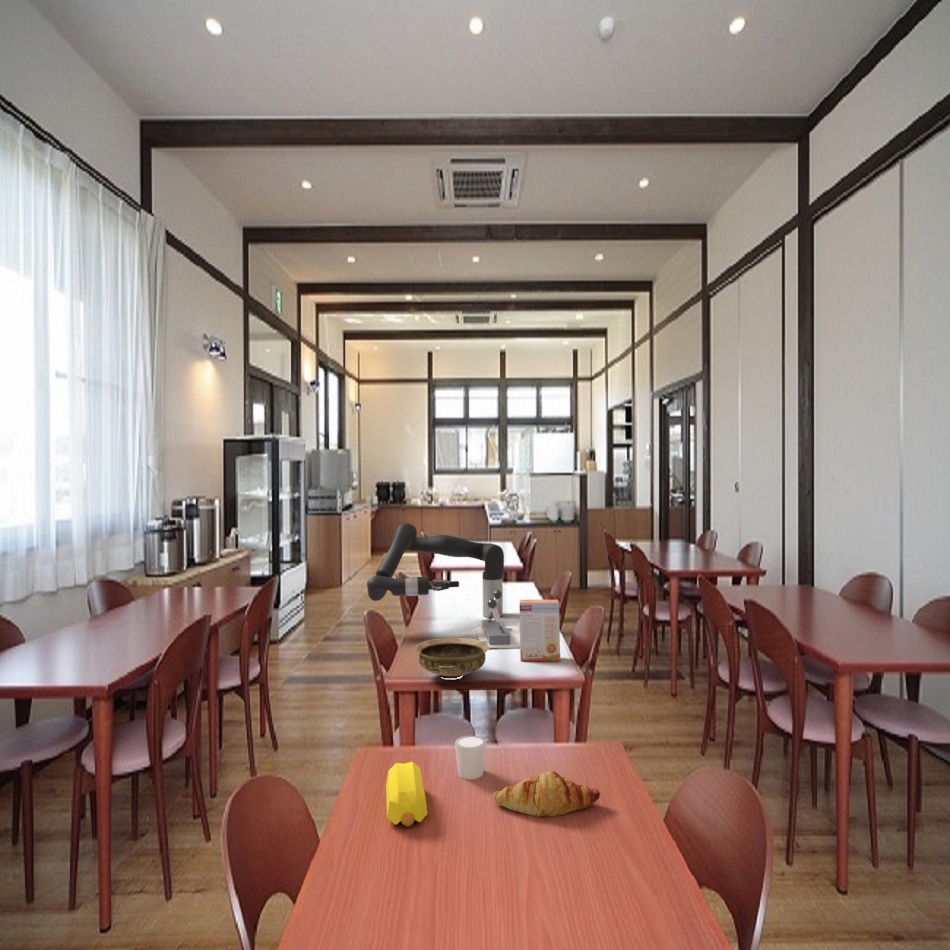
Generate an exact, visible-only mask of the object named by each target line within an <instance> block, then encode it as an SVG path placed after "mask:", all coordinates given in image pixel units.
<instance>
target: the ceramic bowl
mask: <svg viewBox="0 0 950 950" xmlns="http://www.w3.org/2000/svg"><path fill="white" fill-rule="evenodd" d="M414 650H415V651H416V652H417V653H418V663H419V665H420V666H421V667H422V668H423V669H424V670H426V671H428V672H430V673H431V674H435V675H438V676H440V677H443V678H457V677H460V676H462V675H464V676H465V675H469V674H471V673H474V672H476V671H478V670H479V669H481V668H482V667H483V665H484V664H485V662H486V658H487V657H486V652H487V651H488V650H490V649H489V646H488V644H486V643H484V642H482V641H480V640H478V639H475V638H468V637H442V638H433V639H429V640H425V641H422V642H420V643H418V644H416V645H415V649H414ZM440 677H439V678H440Z"/></svg>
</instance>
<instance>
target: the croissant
mask: <svg viewBox="0 0 950 950" xmlns="http://www.w3.org/2000/svg"><path fill="white" fill-rule="evenodd" d="M600 795H601V793H600V791H599V789H598V788H590V787H588V786H587V785H585V784H582V783H579V784H577V783H575V782H574V781H573V780H572V779H569V778H566V777H565V776H564V777H563V776H561V774H559V773H558V772H557V771H554V770H545V771H542V772H541V773H539V775H538V776H537V775H536V776H530V777H526V778H523V780H522V781H521V782H517V783H516V784H515V783H514V784H509V785H507V786H505V787H504V788H503V789H502V790H496V791H494V793H493V794H492V796H493V797H492V798H493V801H494V802H495V803H496V804H498V805H500V806H501V807H504V808H506V809H508V810H511V811H514V812H517V813H518V812H519V813H520V814H526V815H529V816H533V817H536V818H540V817H544V816H546V817H547V816H548V817H556V816H557V817H558V816H563V815H565V814H568V813H571V812H574V811H580V810H582V809H583V810H584V809H585V808H589V807H590V806H591V805H592V804H594V803H596V802H597V801H598V800H599V799H600Z"/></svg>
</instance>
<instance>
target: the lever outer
mask: <svg viewBox="0 0 950 950" xmlns="http://www.w3.org/2000/svg"><path fill="white" fill-rule="evenodd" d="M496 606H497V602H496V600H494V599H490V600H489V601H488V607H489V608H491V609H492V612H493V614H494V617H493V618H494V620H496V622H497V625H498V628H499V630H501V632H502V633H504V626H505V625H504V626H503V624H504V623H503V624H502V622H503V621H502V618H501V617H500V616H499V613H498V610H497V608H496Z"/></svg>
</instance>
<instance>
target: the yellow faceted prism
mask: <svg viewBox="0 0 950 950" xmlns="http://www.w3.org/2000/svg"><path fill="white" fill-rule="evenodd" d="M387 772H388V773H387V776H386V778H387V779H386V783H385V792H386V793H385V794H386V795H385V797H386V798H385V799H386V818H387V819H388V820H389V821H391V822H392V823H393V824H394V825H396V826H397V825H398V824H399V823H400V822H401V824H402V825H403V826H405V827H411V826H412V825H414V823H415V821H416V822H418V823H421V822H422V821H423V820H424V818H425V817H426V816H427V815H428V814H429V813H428V807H427V799H426V792H425V787H424V781H423V775H422V769H421V768H420V767H419V766H418V765H417V764H416V763H415V762H413V761H408V762H406V763H403V762H402V763H401V762H395V763H394V764H393V766H392V767H391V768H390V769H388V771H387Z"/></svg>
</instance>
